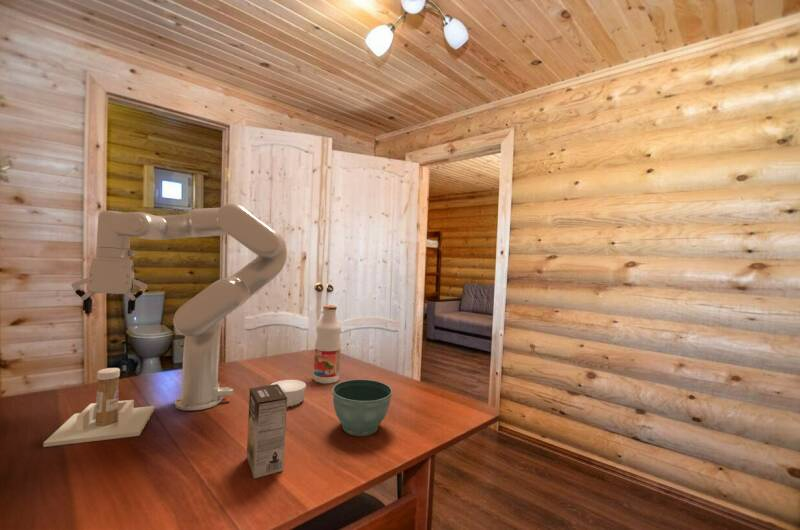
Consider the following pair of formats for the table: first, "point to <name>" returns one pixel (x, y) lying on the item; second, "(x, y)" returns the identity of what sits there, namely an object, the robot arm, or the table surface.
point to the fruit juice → (327, 347)
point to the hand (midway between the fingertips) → (109, 313)
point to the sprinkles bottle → (107, 396)
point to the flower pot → (361, 405)
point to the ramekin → (292, 390)
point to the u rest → (86, 430)
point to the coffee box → (266, 430)
